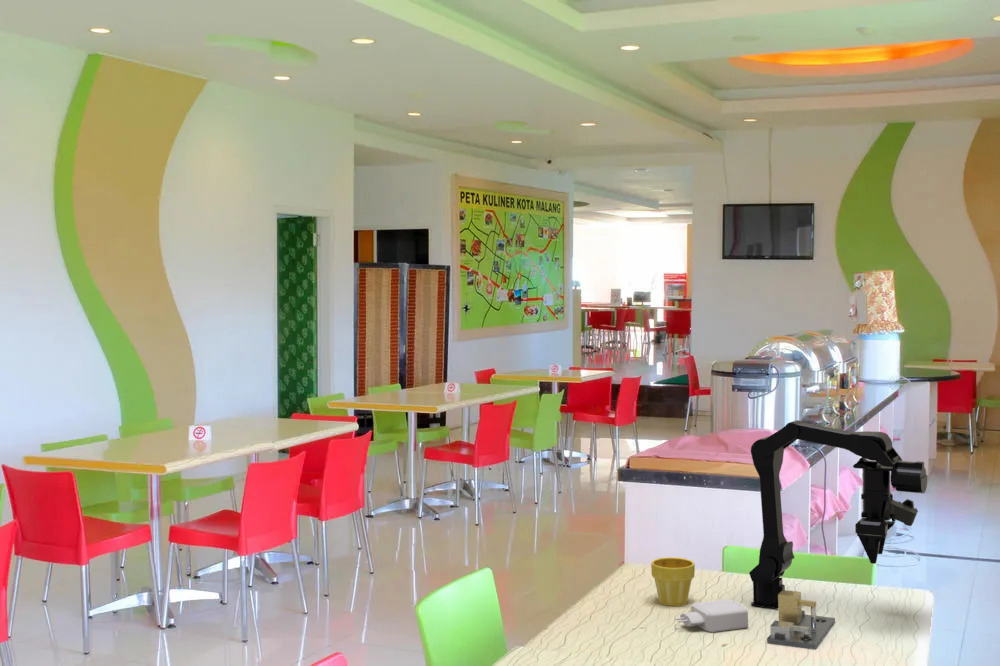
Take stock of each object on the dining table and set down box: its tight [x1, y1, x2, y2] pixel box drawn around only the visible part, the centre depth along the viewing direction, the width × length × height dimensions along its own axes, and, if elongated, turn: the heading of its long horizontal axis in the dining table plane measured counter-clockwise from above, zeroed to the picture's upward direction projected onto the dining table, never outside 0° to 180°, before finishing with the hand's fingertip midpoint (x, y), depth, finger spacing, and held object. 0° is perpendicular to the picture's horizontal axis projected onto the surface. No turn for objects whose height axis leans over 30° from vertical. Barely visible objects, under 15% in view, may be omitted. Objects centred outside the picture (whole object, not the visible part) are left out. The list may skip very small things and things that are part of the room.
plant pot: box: [650, 556, 696, 607], centre depth 255 cm, size 10×10×10 cm
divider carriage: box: [778, 589, 817, 629], centre depth 230 cm, size 8×4×7 cm, turn 61°
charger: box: [674, 598, 749, 633], centre depth 236 cm, size 5×9×15 cm
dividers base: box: [766, 609, 836, 650], centre depth 229 cm, size 10×20×4 cm, turn 151°
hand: (876, 558), depth 236 cm, fingers open, 9 cm apart
